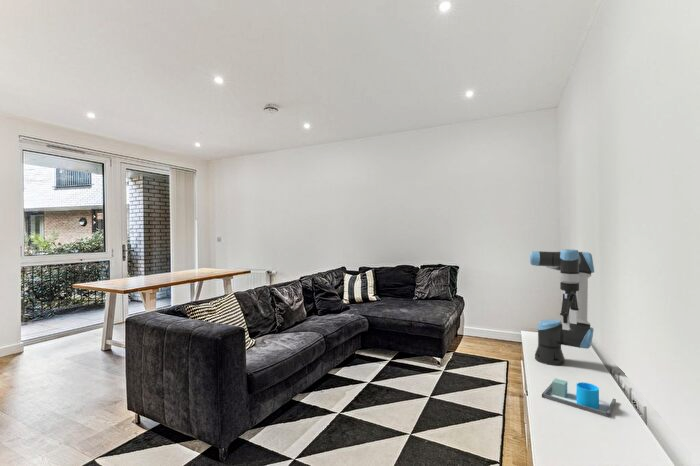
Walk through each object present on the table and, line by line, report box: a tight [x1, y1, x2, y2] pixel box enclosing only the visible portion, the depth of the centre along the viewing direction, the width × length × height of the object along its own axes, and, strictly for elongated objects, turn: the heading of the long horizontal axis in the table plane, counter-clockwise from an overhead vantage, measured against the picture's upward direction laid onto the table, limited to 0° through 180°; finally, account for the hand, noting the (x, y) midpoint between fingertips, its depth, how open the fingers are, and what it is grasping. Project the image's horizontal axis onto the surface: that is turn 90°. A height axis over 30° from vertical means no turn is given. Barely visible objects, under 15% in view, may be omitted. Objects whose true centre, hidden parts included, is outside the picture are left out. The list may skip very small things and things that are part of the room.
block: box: [551, 377, 568, 399], centre depth 163 cm, size 5×5×6 cm
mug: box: [575, 382, 600, 410], centre depth 154 cm, size 12×8×8 cm
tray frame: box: [541, 382, 617, 418], centre depth 157 cm, size 17×25×2 cm
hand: (569, 326), depth 166 cm, fingers open, 13 cm apart
